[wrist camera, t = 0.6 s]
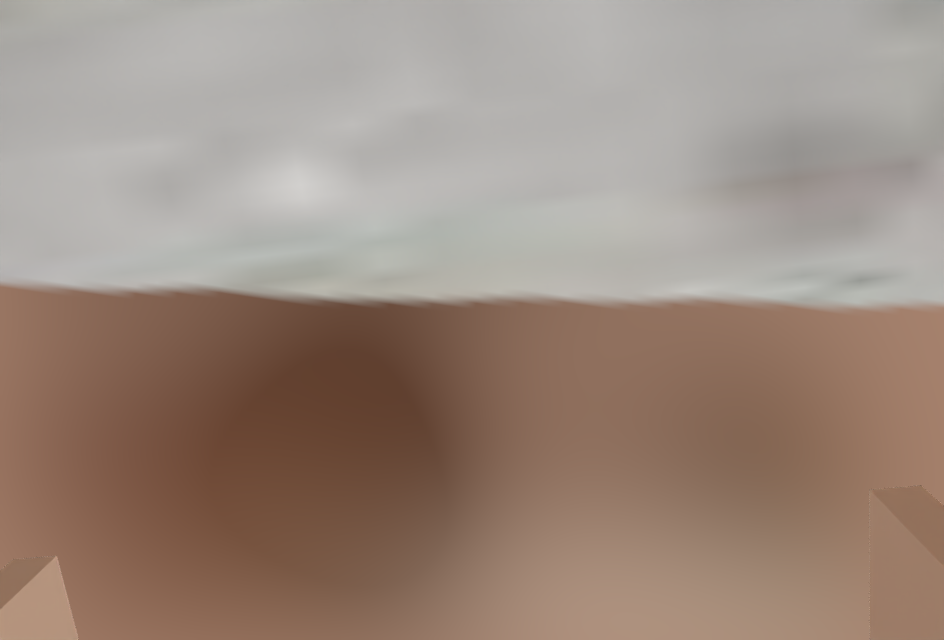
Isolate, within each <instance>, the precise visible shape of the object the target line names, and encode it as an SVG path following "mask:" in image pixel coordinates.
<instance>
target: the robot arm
mask: <svg viewBox="0 0 944 640" xmlns="http://www.w3.org/2000/svg"><path fill="white" fill-rule="evenodd" d="M0 640H79V639H78V635H77V631H76V627H75V624H74V620H73V617H72V612H71V609H70V605H69V601H68V597H67V593H66V589H65V586H64V582H63V578H62V574H61V570H60V567H59V563H58V559H57V556H48V557H37V558H24V559H13V560H12V561H11V562H9V563H8V564H7V565H6V566H5V567H4V568H3V569H2V570H0ZM870 640H944V506H943V505H942V504H941V503H940V502H939V501H938V500H937V499H935V498H934V497H933V496H932V495H931V494H930V493H929V492H928V491H927V490H926V489H924V488H923V487H922V486H921V485H920V486H908V487H897V488H884V489H871V490H870Z"/></svg>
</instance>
